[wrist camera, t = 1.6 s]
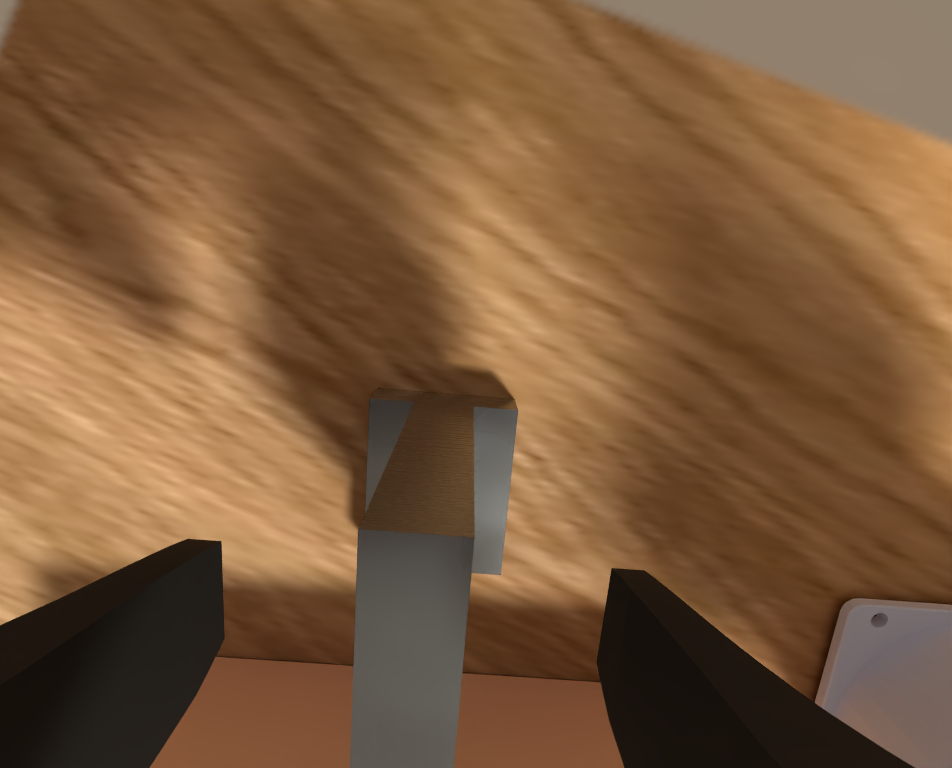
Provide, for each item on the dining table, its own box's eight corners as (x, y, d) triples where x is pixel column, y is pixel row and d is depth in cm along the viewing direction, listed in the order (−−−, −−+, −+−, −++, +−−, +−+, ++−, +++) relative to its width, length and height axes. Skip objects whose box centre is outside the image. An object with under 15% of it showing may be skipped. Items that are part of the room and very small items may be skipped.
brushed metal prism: (514, 399, 15) (560, 544, 7) (498, 552, 16) (523, 825, 8) (377, 388, 15) (269, 522, 7) (371, 543, 16) (271, 810, 8)
